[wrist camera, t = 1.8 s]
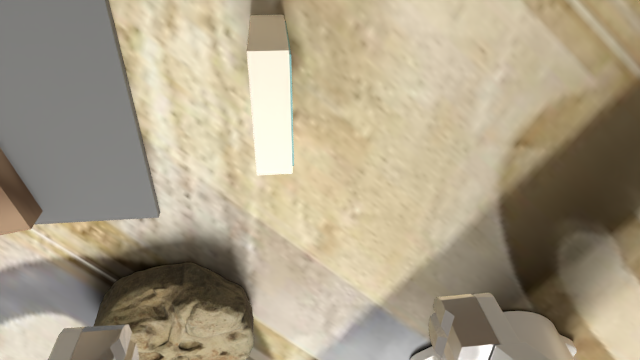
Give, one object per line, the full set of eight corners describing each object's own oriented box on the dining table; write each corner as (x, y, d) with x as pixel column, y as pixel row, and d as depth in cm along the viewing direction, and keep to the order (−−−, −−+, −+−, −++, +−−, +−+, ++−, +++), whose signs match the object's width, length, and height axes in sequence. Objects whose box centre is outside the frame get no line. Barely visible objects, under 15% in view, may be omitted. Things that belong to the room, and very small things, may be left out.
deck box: (288, 118, 31) (294, 173, 25) (258, 120, 30) (256, 175, 25) (285, 14, 27) (291, 50, 21) (250, 15, 26) (246, 51, 21)
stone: (79, 267, 36) (54, 321, 32) (239, 245, 37) (235, 295, 32) (132, 359, 44) (118, 413, 39) (265, 340, 44) (265, 391, 40)
